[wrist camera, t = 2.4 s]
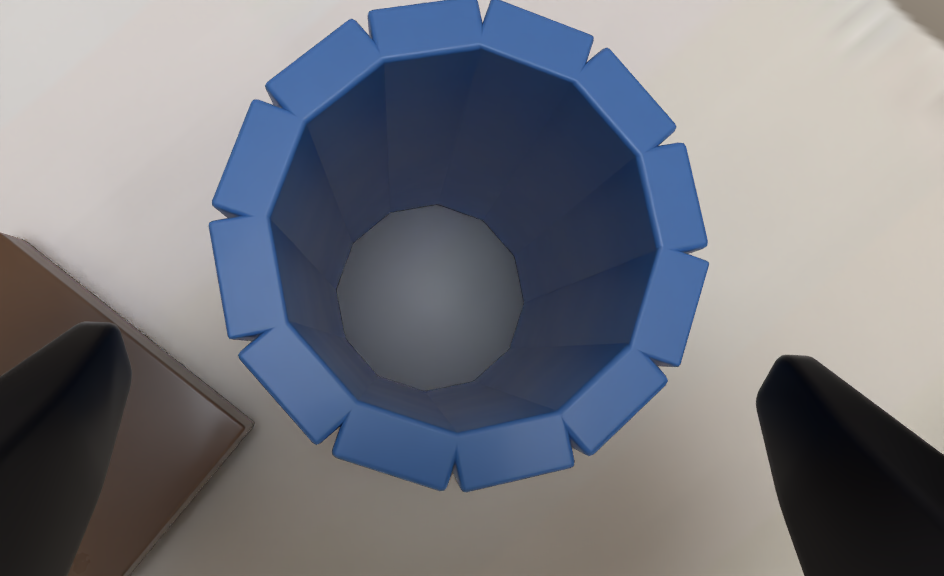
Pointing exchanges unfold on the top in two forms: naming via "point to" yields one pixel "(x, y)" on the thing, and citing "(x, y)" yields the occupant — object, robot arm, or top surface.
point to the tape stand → (143, 421)
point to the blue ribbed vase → (475, 194)
